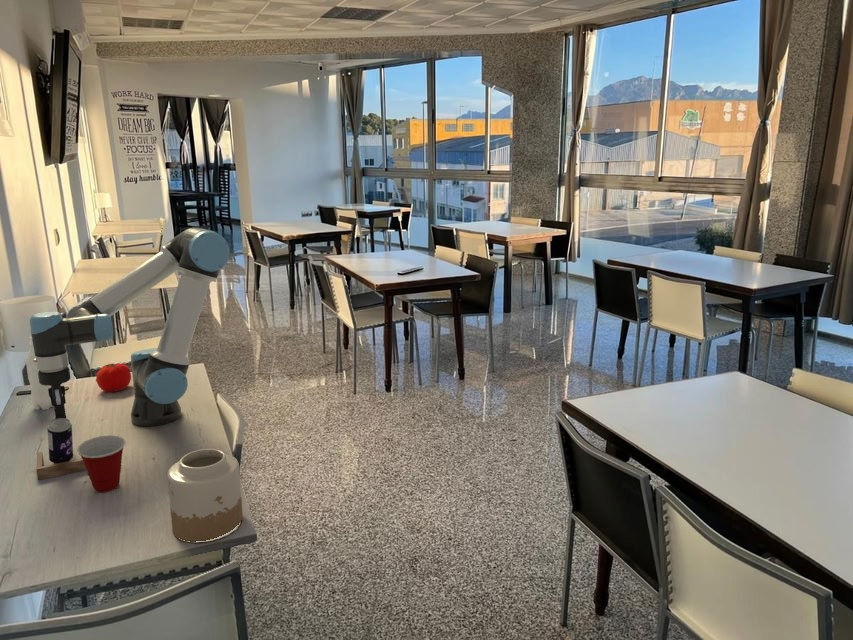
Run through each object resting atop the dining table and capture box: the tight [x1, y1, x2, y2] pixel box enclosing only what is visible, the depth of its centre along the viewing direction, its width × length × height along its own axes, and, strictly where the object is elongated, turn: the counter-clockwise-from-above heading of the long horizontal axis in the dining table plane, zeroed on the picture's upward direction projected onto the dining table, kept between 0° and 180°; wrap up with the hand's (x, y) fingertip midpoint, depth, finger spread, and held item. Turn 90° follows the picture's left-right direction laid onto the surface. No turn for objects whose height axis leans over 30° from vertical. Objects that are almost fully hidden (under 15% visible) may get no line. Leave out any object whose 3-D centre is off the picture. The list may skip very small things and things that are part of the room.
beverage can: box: [47, 418, 74, 464], centre depth 167 cm, size 6×6×12 cm
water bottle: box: [25, 336, 54, 411], centre depth 204 cm, size 7×7×25 cm
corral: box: [35, 451, 87, 481], centre depth 166 cm, size 12×11×3 cm
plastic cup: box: [76, 434, 126, 493], centre depth 154 cm, size 11×11×12 cm
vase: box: [166, 448, 244, 542], centre depth 138 cm, size 15×15×17 cm
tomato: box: [95, 361, 132, 393], centre depth 223 cm, size 11×13×10 cm
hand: (65, 446), depth 173 cm, fingers closed
